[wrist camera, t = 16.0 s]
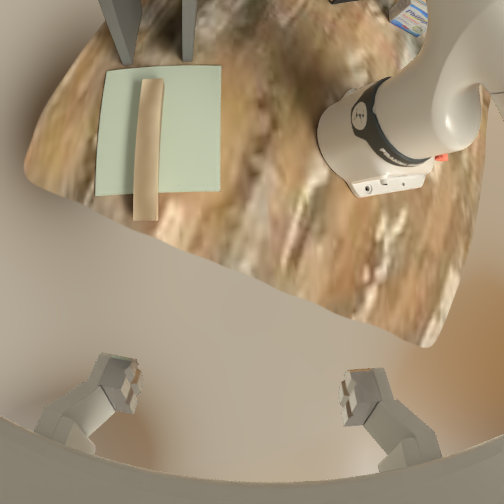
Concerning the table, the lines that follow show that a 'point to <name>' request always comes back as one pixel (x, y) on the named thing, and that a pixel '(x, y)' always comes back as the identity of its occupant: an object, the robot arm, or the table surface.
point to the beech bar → (148, 150)
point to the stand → (128, 20)
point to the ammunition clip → (340, 1)
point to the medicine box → (410, 16)
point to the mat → (162, 129)
